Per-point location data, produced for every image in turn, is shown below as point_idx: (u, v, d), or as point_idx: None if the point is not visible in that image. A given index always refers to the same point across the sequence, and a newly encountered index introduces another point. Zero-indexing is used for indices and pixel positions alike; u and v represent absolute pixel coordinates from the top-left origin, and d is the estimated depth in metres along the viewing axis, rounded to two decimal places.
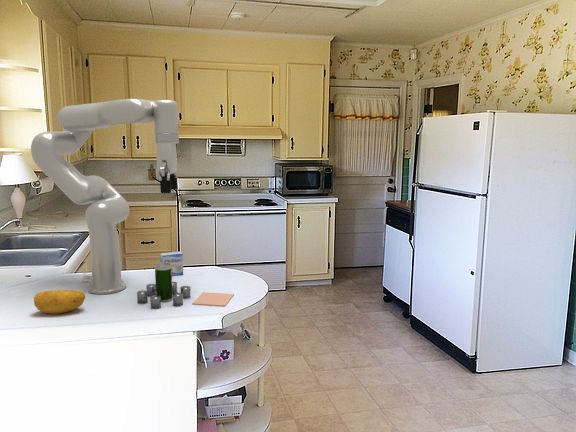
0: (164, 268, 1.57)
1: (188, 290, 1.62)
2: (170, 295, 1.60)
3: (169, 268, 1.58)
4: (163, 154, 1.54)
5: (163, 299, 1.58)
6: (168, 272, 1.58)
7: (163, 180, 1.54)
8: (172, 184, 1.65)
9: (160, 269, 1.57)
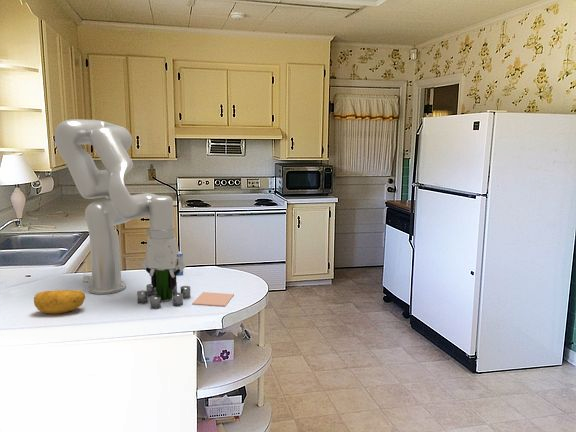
0: None
1: (188, 290, 1.62)
2: (170, 295, 1.60)
3: None
4: (176, 249, 1.57)
5: (163, 299, 1.58)
6: (168, 272, 1.58)
7: (175, 276, 1.59)
8: None
9: (160, 269, 1.57)
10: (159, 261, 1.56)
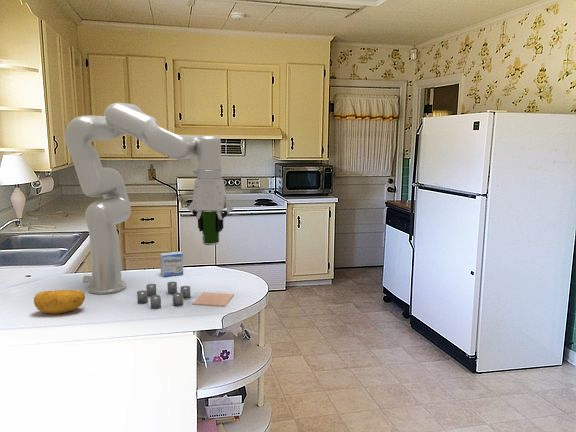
0: None
1: (188, 290, 1.62)
2: (217, 238, 1.57)
3: None
4: (224, 190, 1.54)
5: (210, 242, 1.55)
6: (215, 214, 1.55)
7: (222, 218, 1.56)
8: None
9: (208, 211, 1.54)
10: (207, 202, 1.53)
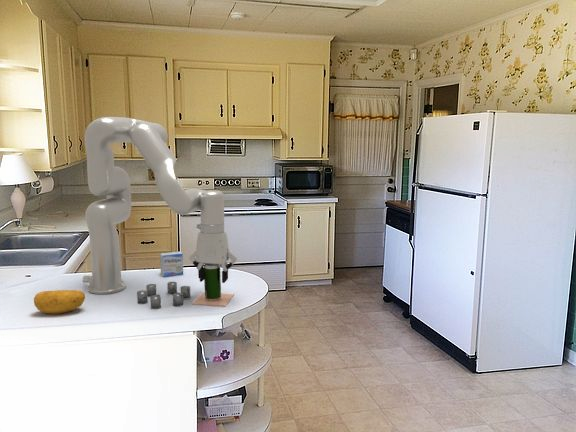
0: (213, 267, 1.57)
1: (188, 290, 1.62)
2: (219, 294, 1.60)
3: (218, 267, 1.59)
4: (227, 243, 1.57)
5: (212, 298, 1.59)
6: (217, 271, 1.58)
7: (227, 270, 1.59)
8: (203, 275, 1.61)
9: (210, 268, 1.57)
10: (210, 256, 1.56)
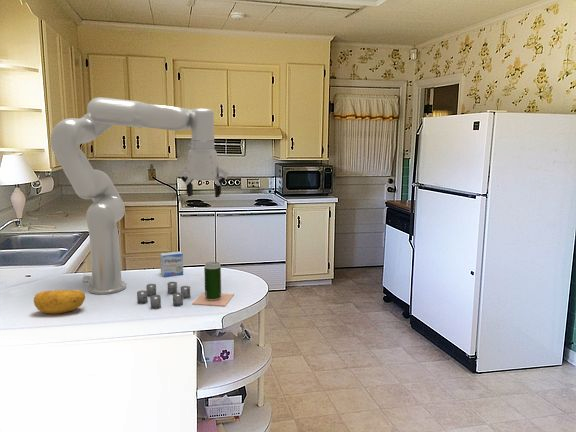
0: (214, 267, 1.57)
1: (188, 290, 1.62)
2: (219, 294, 1.60)
3: (219, 267, 1.59)
4: (217, 160, 1.63)
5: (213, 298, 1.59)
6: (218, 271, 1.58)
7: (220, 184, 1.65)
8: (191, 190, 1.67)
9: (210, 268, 1.57)
10: (200, 171, 1.62)
